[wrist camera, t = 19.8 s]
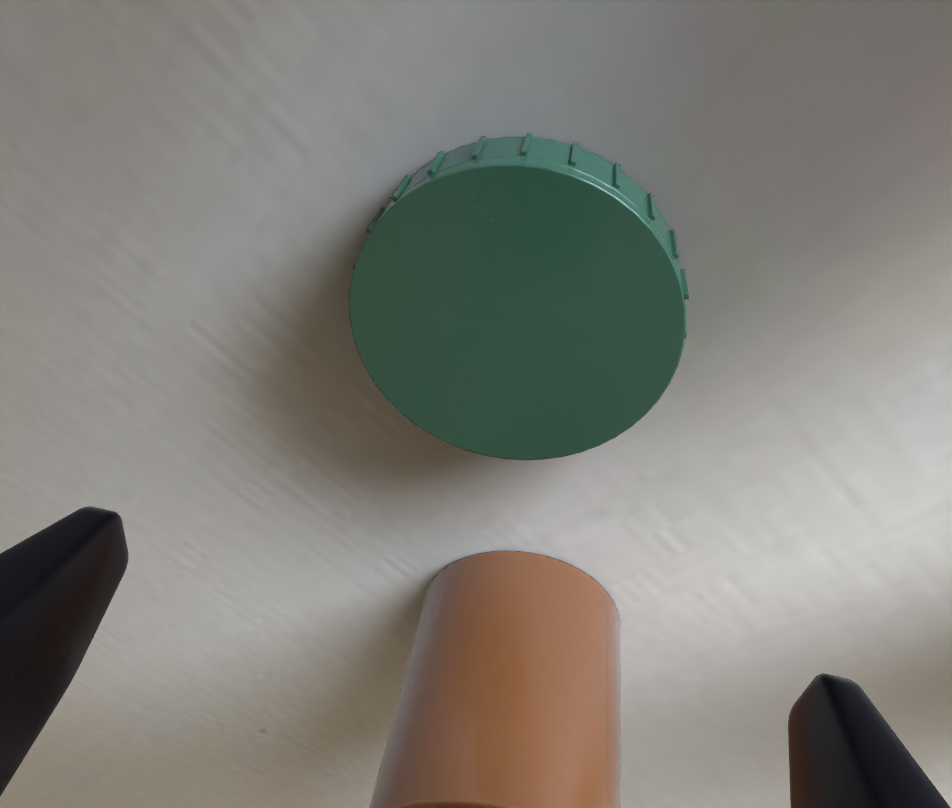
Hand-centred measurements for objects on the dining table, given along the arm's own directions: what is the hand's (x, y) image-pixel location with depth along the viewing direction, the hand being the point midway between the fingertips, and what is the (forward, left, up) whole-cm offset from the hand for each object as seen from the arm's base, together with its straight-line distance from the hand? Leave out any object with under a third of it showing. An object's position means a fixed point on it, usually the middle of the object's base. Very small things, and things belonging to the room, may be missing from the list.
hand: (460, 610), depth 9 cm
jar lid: (0, 0, -7) cm, 7 cm away
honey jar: (+9, -7, -8) cm, 14 cm away
